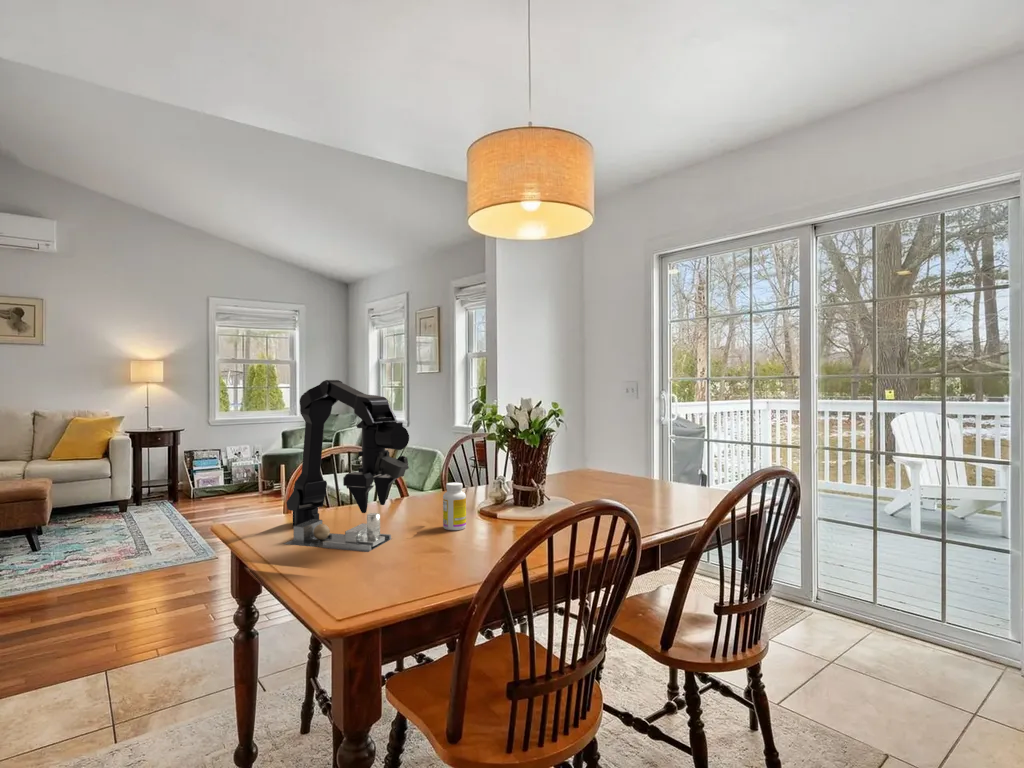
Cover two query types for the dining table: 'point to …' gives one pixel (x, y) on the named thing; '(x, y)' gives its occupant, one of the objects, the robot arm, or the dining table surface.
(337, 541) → the press base
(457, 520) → the supplement bottle
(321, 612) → the dining table surface
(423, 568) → the dining table surface
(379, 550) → the dining table surface
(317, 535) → the tan ball
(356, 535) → the ram
